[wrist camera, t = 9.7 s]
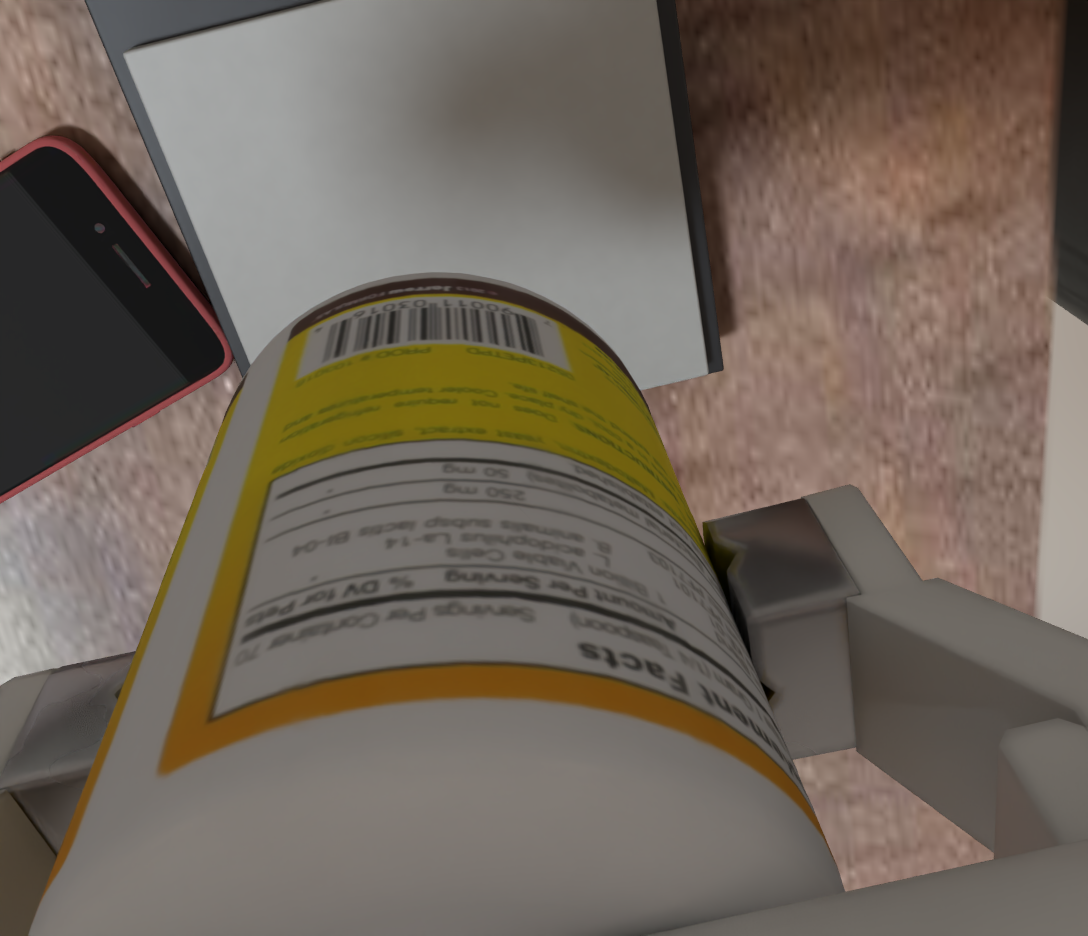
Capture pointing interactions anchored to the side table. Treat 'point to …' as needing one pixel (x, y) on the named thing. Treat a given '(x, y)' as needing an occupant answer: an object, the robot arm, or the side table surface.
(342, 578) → the supplement bottle
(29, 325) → the smartphone
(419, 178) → the scale
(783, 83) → the side table surface
